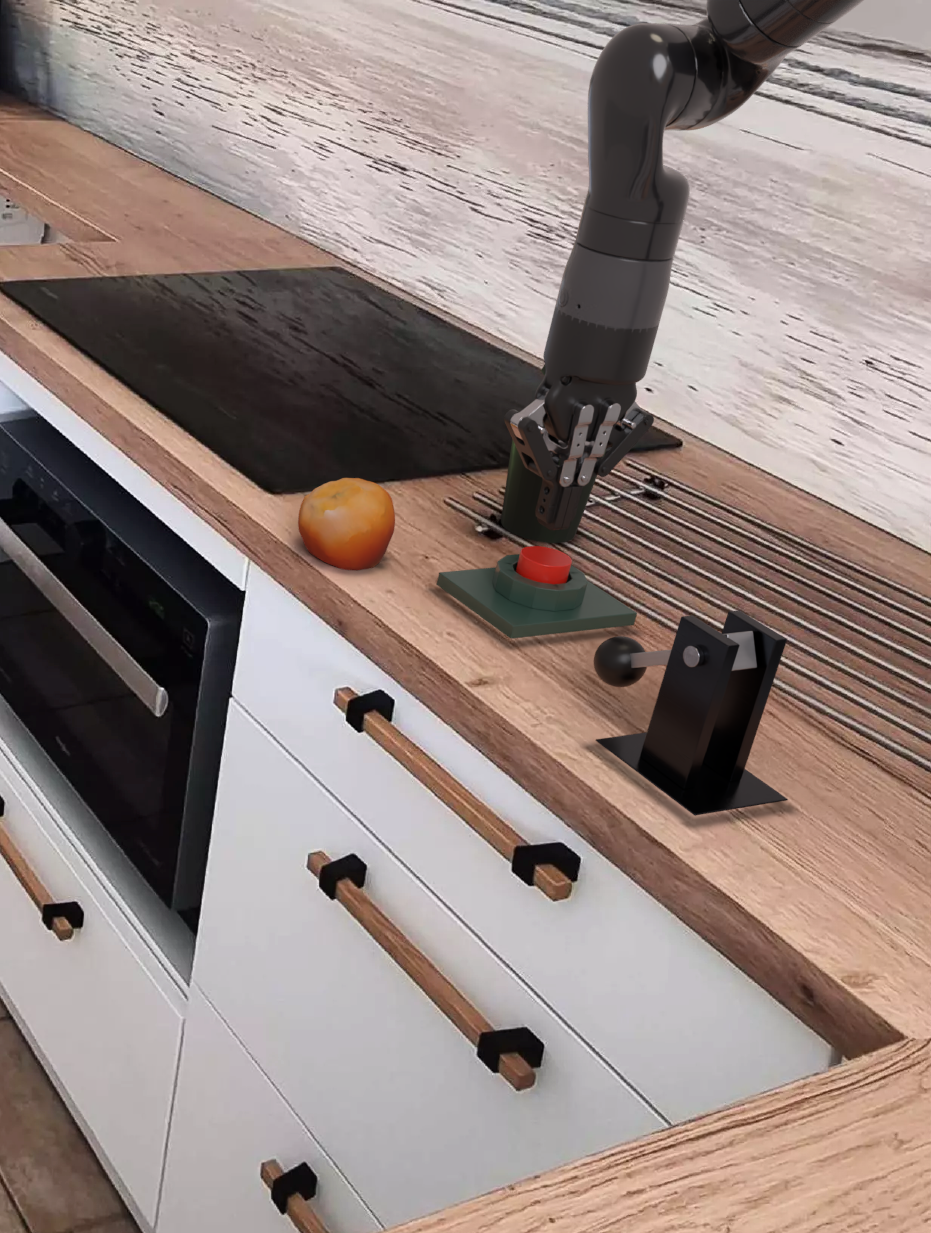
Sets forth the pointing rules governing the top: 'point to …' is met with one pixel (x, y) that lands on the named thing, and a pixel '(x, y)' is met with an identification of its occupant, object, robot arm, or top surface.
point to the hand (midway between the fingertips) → (552, 525)
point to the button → (544, 565)
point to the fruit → (347, 523)
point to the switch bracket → (707, 718)
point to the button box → (534, 601)
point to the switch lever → (653, 658)
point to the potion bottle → (534, 503)
